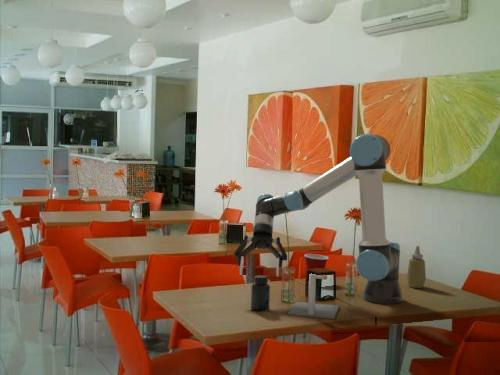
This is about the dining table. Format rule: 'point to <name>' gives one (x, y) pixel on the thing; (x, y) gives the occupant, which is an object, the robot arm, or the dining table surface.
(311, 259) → the plastic cup
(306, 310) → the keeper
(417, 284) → the squeeze bottle
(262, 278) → the supplement bottle
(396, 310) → the dining table surface
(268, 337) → the dining table surface
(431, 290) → the dining table surface
